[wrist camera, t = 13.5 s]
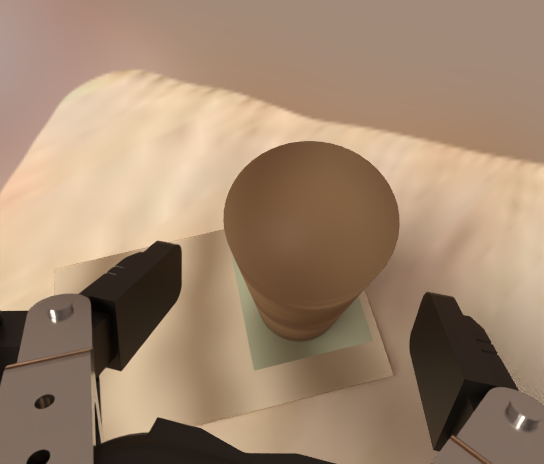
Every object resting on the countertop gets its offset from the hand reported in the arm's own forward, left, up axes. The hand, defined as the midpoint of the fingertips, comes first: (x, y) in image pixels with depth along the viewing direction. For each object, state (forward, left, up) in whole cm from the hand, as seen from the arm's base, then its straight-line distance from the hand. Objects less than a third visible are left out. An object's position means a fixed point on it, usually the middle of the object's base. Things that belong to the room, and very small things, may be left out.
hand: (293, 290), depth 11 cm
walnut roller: (-1, -2, -10) cm, 10 cm away
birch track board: (+5, -2, -11) cm, 12 cm away
